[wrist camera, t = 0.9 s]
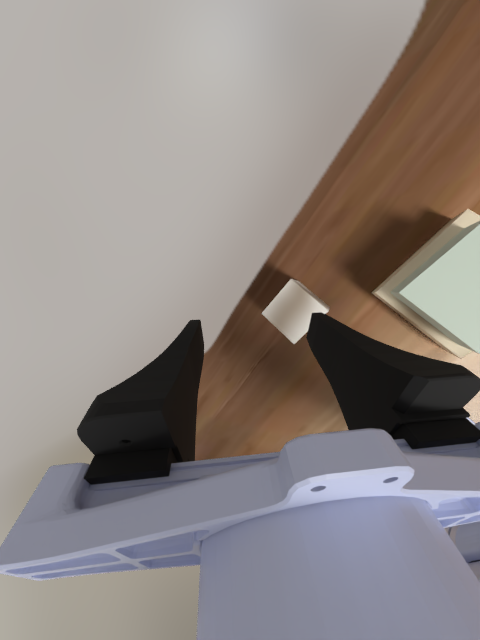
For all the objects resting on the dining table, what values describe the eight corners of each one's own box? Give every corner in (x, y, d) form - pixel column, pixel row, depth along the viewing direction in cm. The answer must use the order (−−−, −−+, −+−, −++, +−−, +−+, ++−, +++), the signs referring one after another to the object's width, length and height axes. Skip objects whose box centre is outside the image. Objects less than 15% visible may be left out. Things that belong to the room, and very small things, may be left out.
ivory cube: (329, 307, 24) (328, 310, 20) (301, 335, 26) (294, 344, 21) (298, 281, 25) (291, 278, 21) (273, 309, 27) (261, 313, 23)
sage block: (551, 282, 15) (599, 280, 12) (457, 344, 18) (479, 353, 15) (464, 228, 16) (489, 216, 14) (389, 292, 19) (398, 292, 16)
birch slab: (548, 280, 17) (588, 278, 14) (444, 349, 20) (461, 358, 18) (449, 220, 19) (467, 208, 16) (370, 292, 22) (375, 293, 20)
